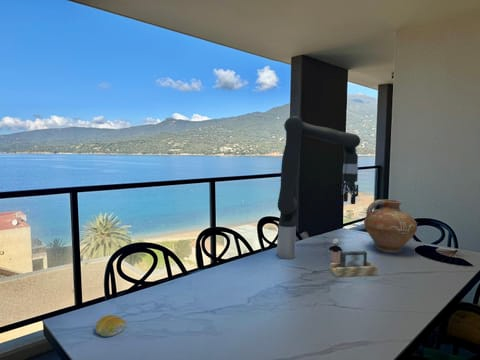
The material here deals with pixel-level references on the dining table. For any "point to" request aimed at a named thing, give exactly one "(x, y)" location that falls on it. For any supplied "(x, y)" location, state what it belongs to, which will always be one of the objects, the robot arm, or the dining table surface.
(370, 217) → the jug
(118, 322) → the bread roll
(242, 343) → the dining table surface
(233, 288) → the dining table surface
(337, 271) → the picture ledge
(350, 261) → the dark grey block
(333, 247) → the grandmother figurine
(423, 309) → the dining table surface
